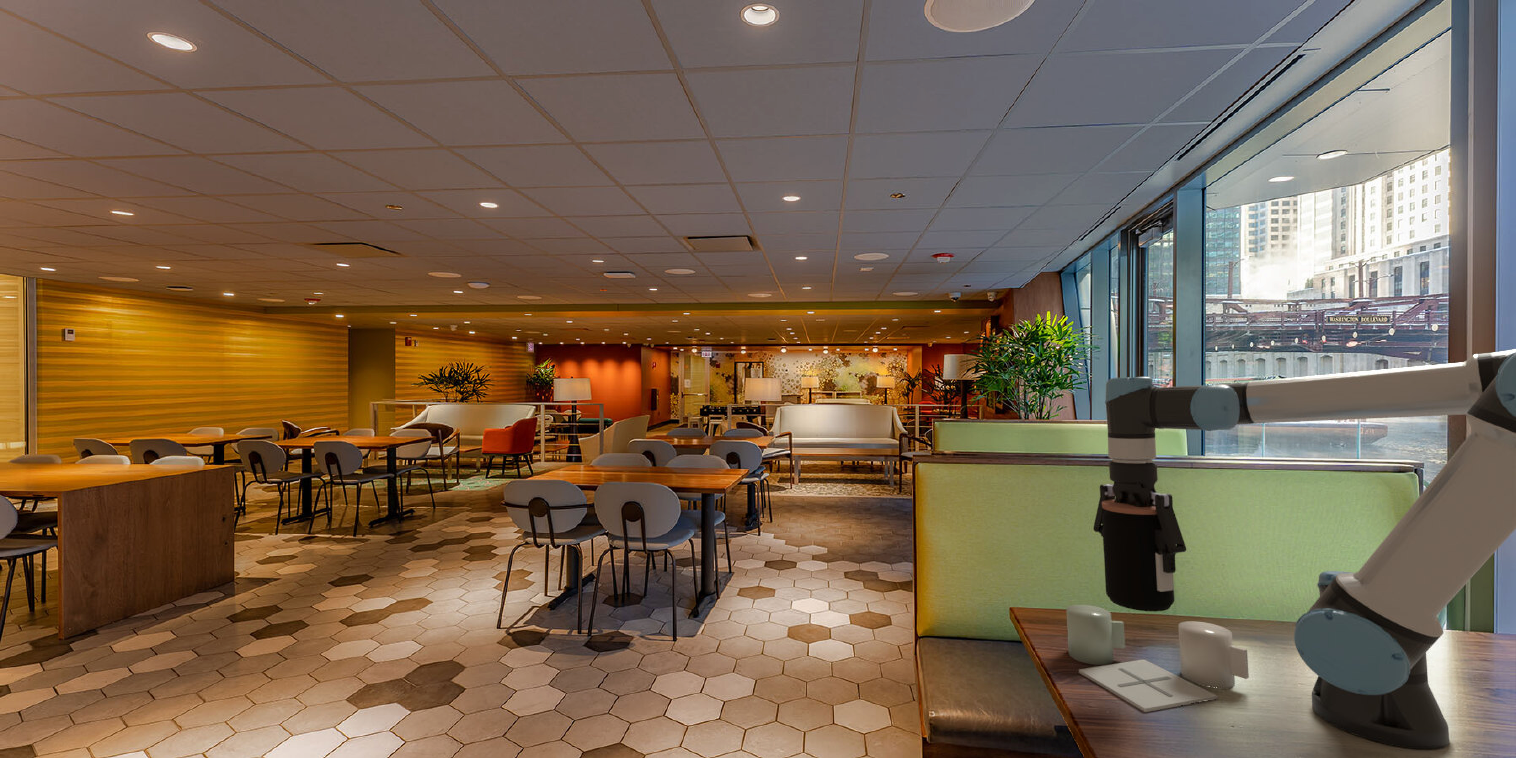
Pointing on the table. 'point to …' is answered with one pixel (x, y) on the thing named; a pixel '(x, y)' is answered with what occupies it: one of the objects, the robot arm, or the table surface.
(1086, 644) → the mug sage
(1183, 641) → the mug cream
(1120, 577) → the coffee jar
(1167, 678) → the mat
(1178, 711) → the table surface
